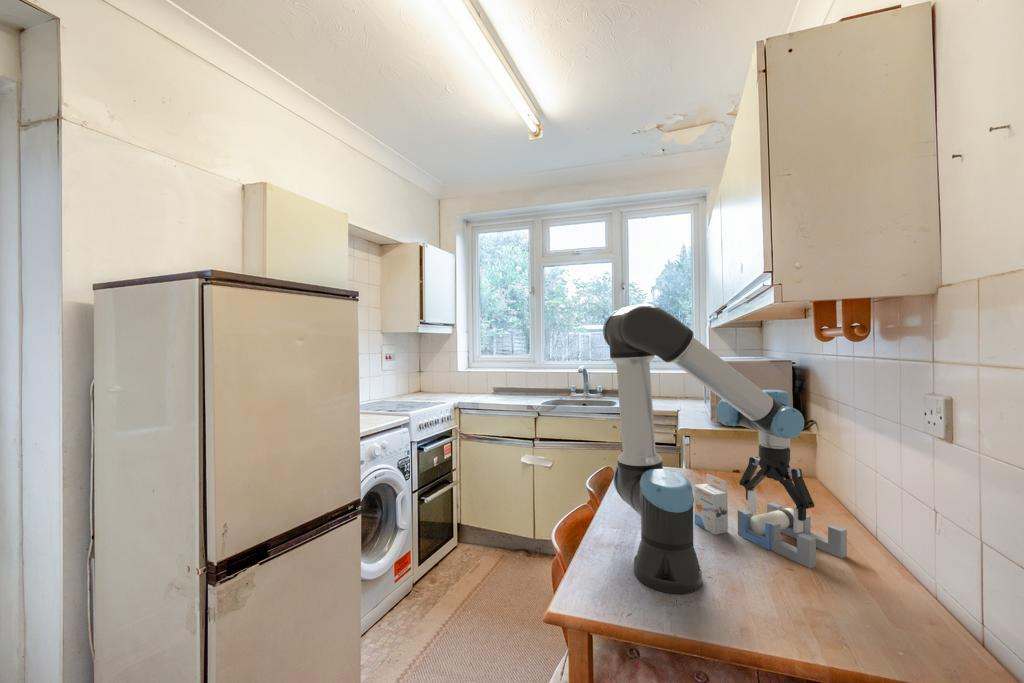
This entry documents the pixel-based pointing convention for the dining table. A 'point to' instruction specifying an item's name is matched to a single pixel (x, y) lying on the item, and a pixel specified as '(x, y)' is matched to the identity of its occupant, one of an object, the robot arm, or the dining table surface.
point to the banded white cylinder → (779, 516)
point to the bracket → (805, 539)
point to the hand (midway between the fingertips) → (774, 521)
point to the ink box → (712, 505)
